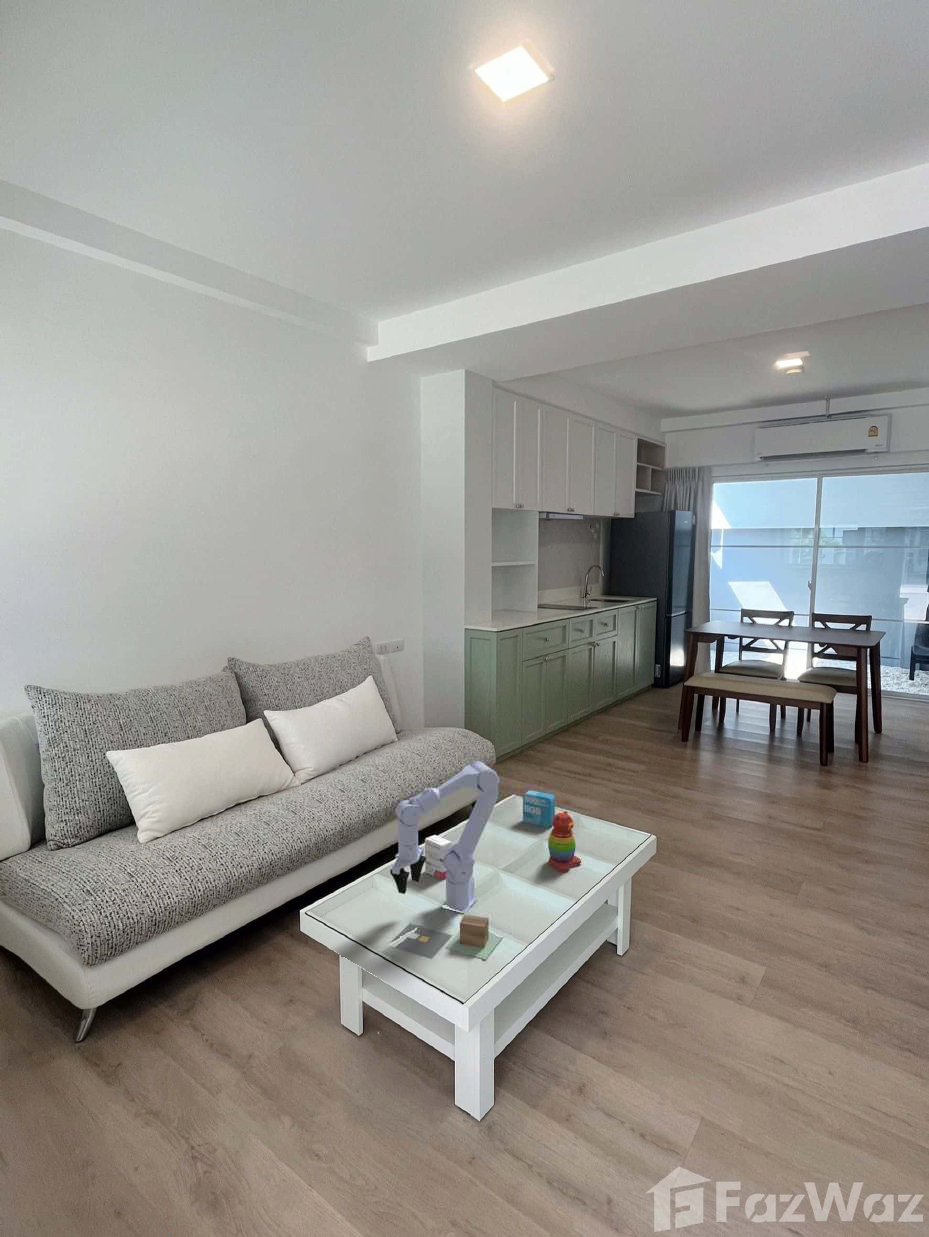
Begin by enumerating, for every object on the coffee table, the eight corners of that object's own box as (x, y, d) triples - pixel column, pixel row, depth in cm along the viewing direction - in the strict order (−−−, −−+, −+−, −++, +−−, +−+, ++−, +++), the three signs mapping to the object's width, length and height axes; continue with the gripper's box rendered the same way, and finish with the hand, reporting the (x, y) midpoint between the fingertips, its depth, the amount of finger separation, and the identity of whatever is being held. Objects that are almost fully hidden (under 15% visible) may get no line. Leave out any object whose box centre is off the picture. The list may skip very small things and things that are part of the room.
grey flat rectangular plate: (409, 923, 192) (409, 923, 192) (452, 936, 186) (452, 935, 186) (387, 946, 182) (387, 945, 182) (431, 959, 175) (431, 959, 175)
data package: (522, 822, 263) (522, 793, 262) (527, 818, 267) (527, 789, 266) (550, 828, 257) (550, 798, 256) (555, 824, 261) (555, 794, 260)
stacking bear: (563, 873, 221) (564, 822, 219) (540, 863, 229) (541, 813, 227) (584, 863, 228) (584, 813, 227) (561, 853, 236) (561, 805, 234)
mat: (465, 926, 191) (465, 924, 191) (503, 936, 186) (503, 935, 186) (445, 948, 180) (445, 947, 180) (485, 960, 175) (485, 959, 175)
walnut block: (464, 934, 186) (464, 914, 185) (488, 938, 184) (488, 917, 184) (459, 943, 182) (459, 923, 181) (484, 947, 180) (484, 926, 179)
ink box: (452, 874, 221) (452, 841, 220) (442, 880, 217) (441, 846, 216) (434, 866, 227) (434, 833, 226) (424, 871, 223) (423, 838, 222)
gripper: (409, 830, 202) (410, 872, 203) (382, 849, 189) (383, 895, 190) (429, 834, 198) (430, 877, 200) (403, 854, 186) (404, 900, 187)
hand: (408, 886), depth 195 cm, fingers open, 7 cm apart
